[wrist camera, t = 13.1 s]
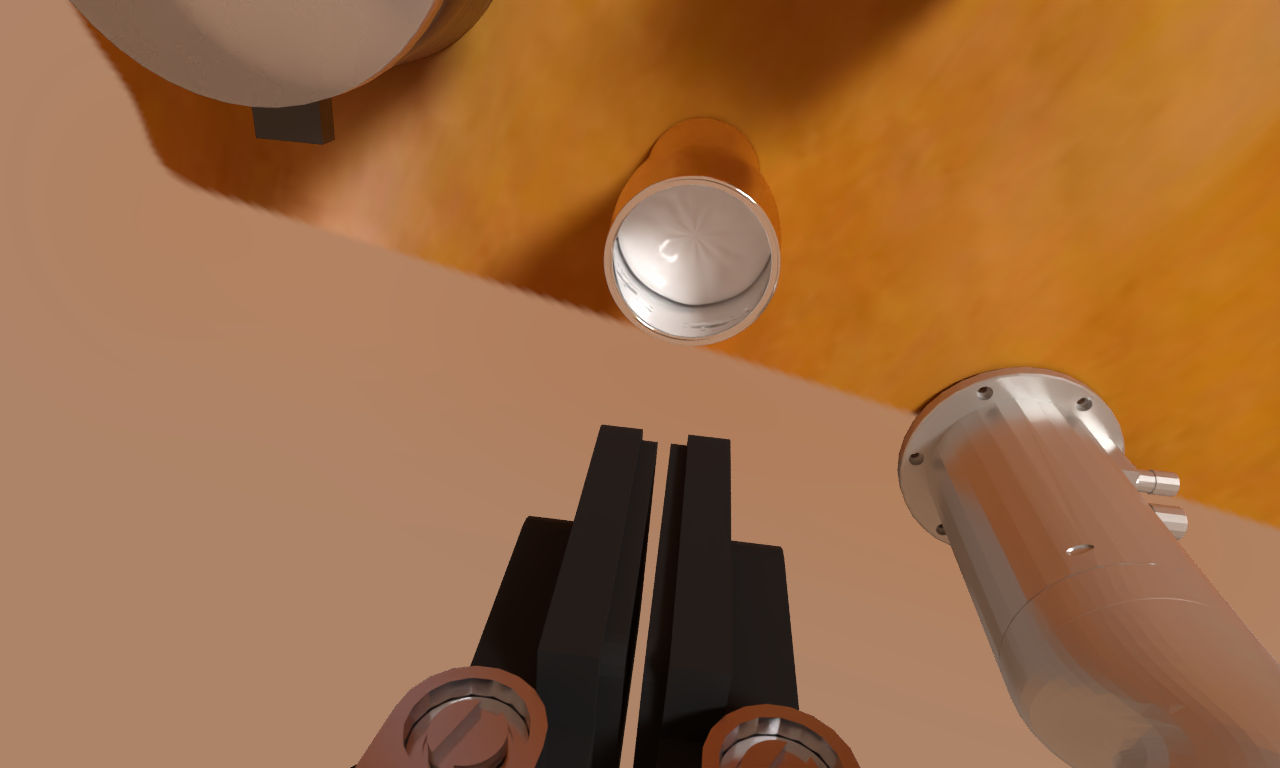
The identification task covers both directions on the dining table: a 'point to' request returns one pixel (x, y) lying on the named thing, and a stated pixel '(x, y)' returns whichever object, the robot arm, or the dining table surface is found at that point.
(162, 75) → the lid
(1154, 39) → the dining table surface
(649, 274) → the beer glass
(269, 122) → the cooker pot
